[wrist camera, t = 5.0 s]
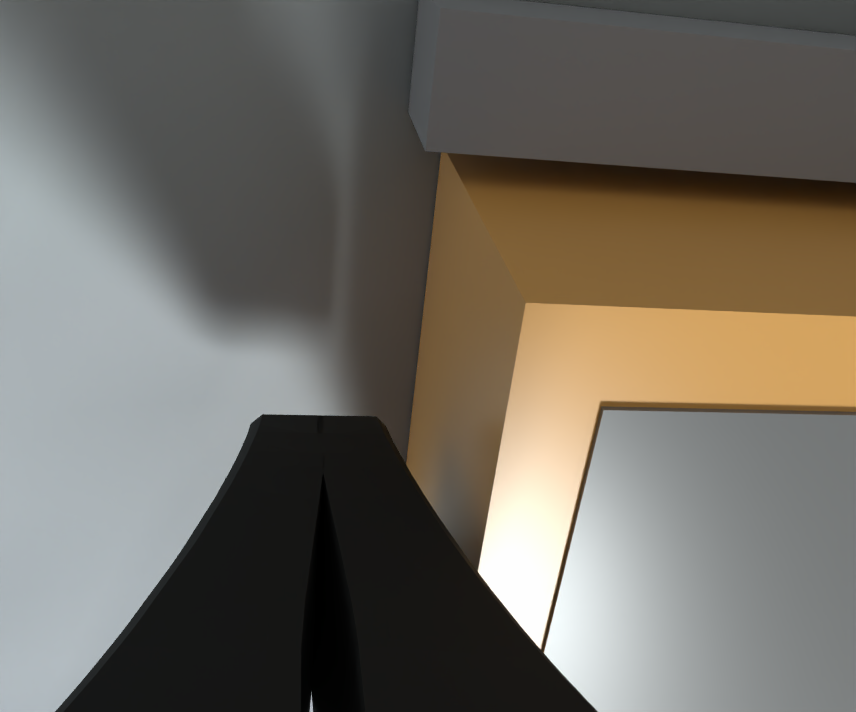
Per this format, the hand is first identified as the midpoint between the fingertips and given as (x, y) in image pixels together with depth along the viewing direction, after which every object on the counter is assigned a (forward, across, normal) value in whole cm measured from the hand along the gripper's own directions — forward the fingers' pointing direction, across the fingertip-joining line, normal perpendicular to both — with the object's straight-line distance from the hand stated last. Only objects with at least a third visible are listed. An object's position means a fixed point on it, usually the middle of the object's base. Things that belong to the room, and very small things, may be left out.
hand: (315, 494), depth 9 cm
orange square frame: (+2, -5, 0) cm, 5 cm away
